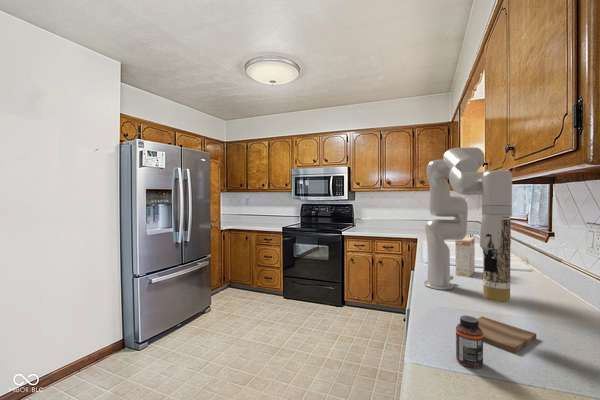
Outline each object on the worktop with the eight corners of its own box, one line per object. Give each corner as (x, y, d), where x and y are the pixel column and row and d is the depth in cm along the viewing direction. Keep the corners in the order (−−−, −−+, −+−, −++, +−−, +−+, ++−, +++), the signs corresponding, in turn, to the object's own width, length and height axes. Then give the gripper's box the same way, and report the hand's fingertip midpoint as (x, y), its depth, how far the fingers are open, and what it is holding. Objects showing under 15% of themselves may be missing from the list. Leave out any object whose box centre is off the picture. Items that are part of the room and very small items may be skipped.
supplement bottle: (459, 353, 78) (459, 311, 78) (485, 362, 74) (485, 317, 74) (453, 363, 73) (453, 318, 73) (480, 372, 69) (480, 325, 69)
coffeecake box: (461, 269, 168) (461, 236, 168) (475, 271, 163) (475, 237, 163) (454, 275, 157) (454, 239, 157) (469, 277, 152) (469, 240, 152)
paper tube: (499, 295, 91) (499, 216, 91) (516, 302, 85) (516, 217, 84) (478, 295, 91) (478, 216, 91) (493, 303, 84) (493, 217, 84)
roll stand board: (482, 320, 98) (482, 316, 98) (536, 338, 86) (536, 333, 86) (458, 332, 90) (458, 327, 90) (514, 353, 78) (514, 348, 78)
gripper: (496, 210, 96) (496, 264, 96) (469, 211, 86) (468, 271, 86) (523, 211, 89) (523, 268, 90) (497, 212, 80) (497, 277, 80)
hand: (496, 269), depth 88 cm, fingers closed on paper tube, 6 cm apart
